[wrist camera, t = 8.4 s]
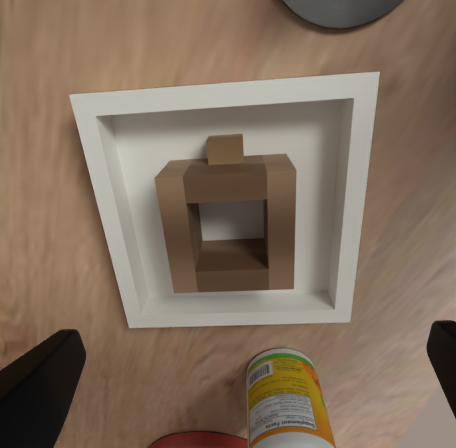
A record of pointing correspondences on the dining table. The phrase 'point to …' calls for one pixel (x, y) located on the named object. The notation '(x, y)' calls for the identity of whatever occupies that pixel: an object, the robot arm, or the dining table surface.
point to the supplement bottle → (285, 402)
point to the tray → (234, 210)
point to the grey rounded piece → (340, 11)
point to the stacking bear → (200, 441)
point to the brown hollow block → (221, 192)
